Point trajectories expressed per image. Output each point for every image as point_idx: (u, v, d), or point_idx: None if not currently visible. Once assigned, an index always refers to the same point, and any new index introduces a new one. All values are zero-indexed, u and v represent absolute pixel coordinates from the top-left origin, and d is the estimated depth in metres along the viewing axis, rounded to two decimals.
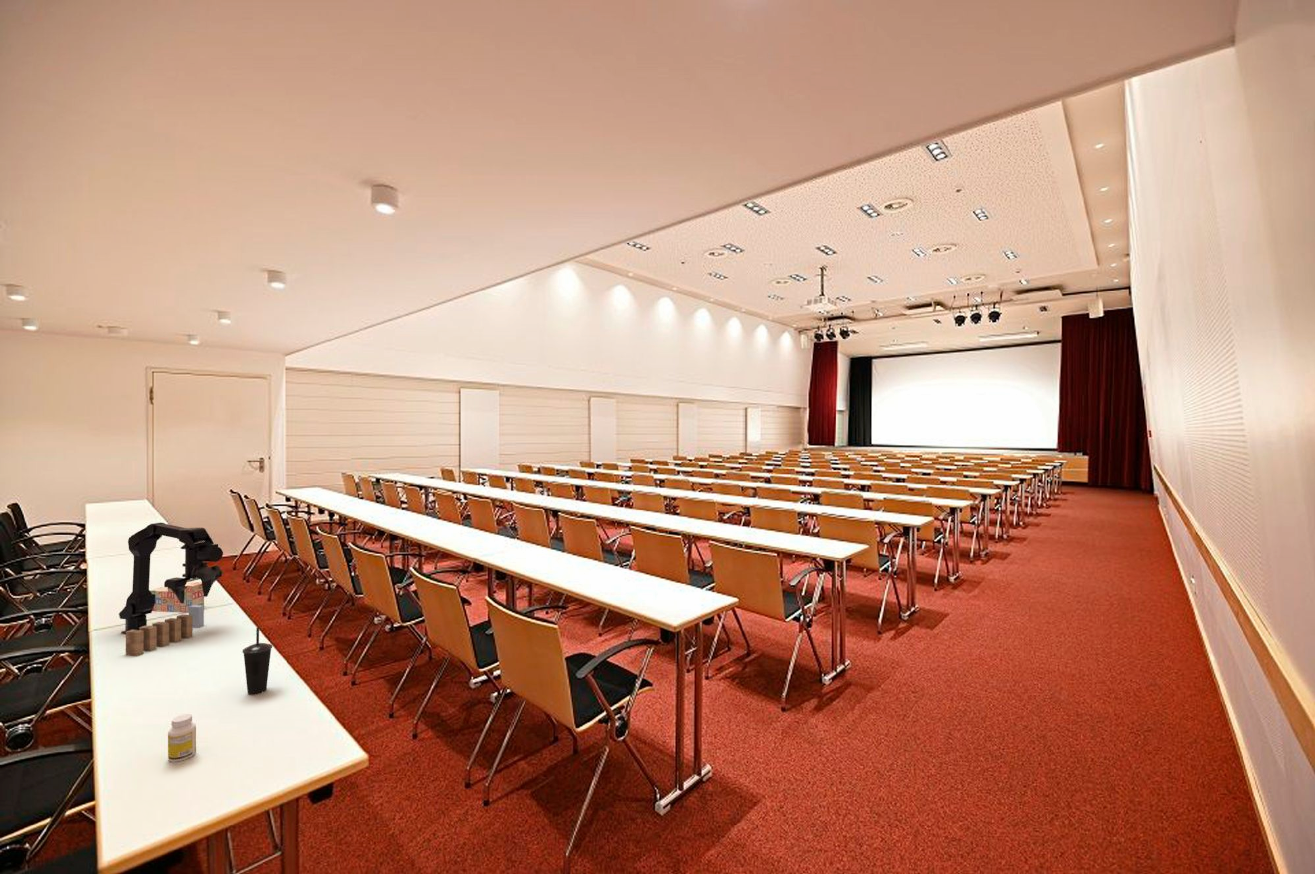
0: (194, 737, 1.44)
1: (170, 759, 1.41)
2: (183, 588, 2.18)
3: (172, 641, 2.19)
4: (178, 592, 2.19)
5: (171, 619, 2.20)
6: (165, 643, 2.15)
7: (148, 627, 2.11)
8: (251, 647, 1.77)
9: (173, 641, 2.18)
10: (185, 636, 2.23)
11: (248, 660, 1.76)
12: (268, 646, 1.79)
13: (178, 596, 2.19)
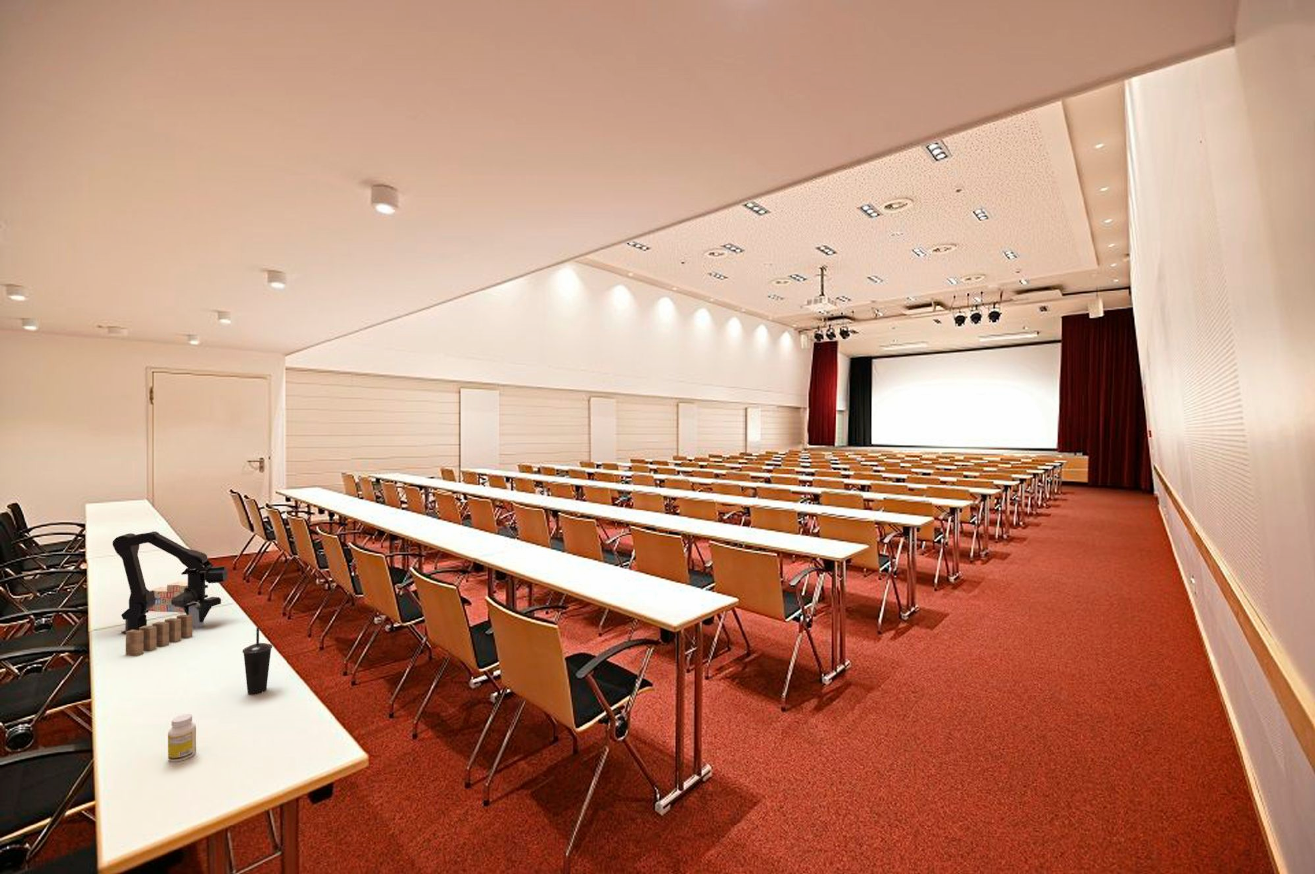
0: (194, 737, 1.44)
1: (170, 759, 1.41)
2: (181, 607, 2.35)
3: (172, 641, 2.19)
4: None
5: (171, 619, 2.20)
6: (165, 643, 2.15)
7: (148, 627, 2.10)
8: (251, 647, 1.77)
9: (173, 641, 2.18)
10: (185, 636, 2.23)
11: (248, 660, 1.76)
12: (268, 646, 1.79)
13: None
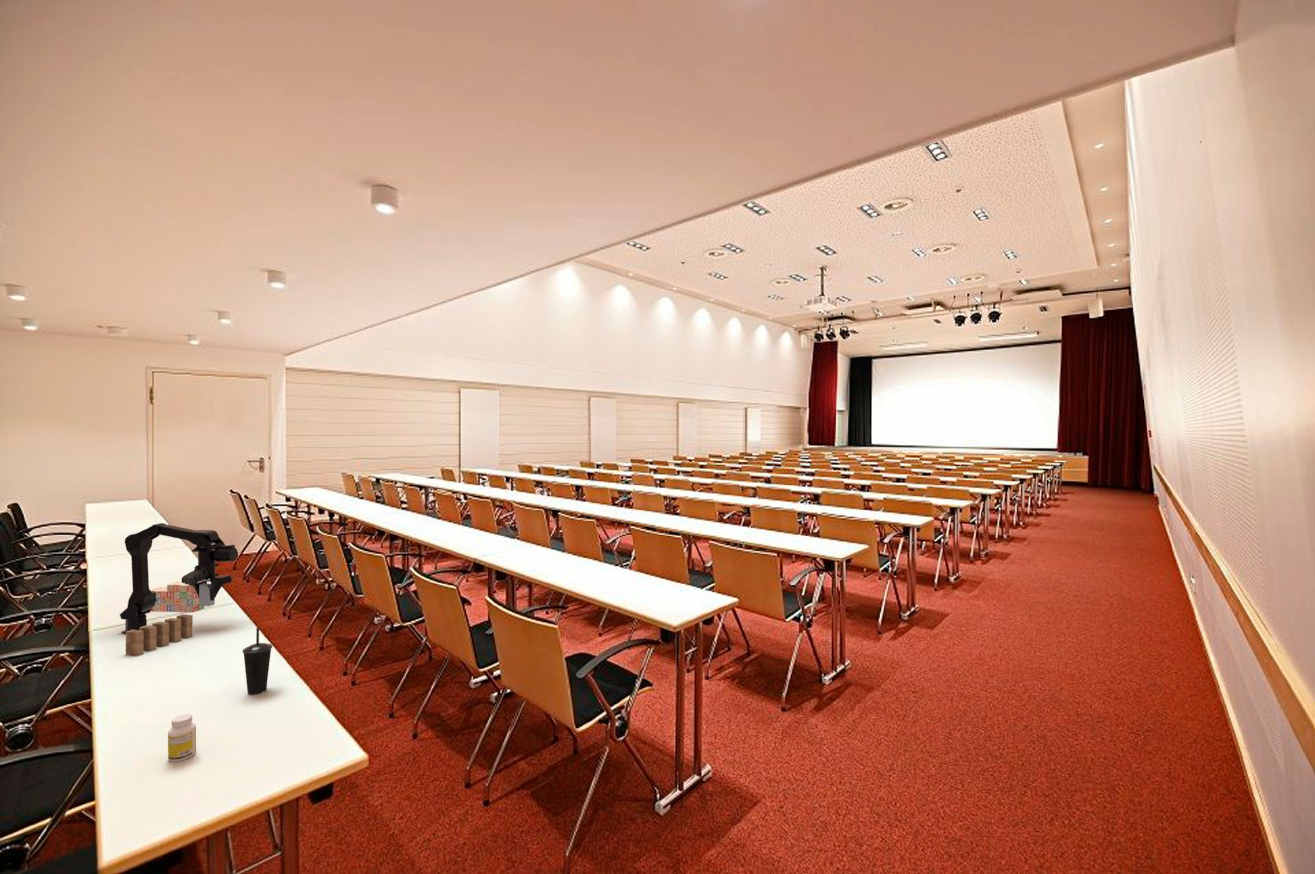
0: (194, 737, 1.44)
1: (170, 759, 1.41)
2: (192, 585, 2.31)
3: (172, 641, 2.19)
4: None
5: (171, 619, 2.20)
6: (165, 643, 2.15)
7: (148, 627, 2.11)
8: (251, 647, 1.77)
9: (173, 641, 2.18)
10: (185, 636, 2.23)
11: (248, 660, 1.76)
12: (268, 646, 1.79)
13: None
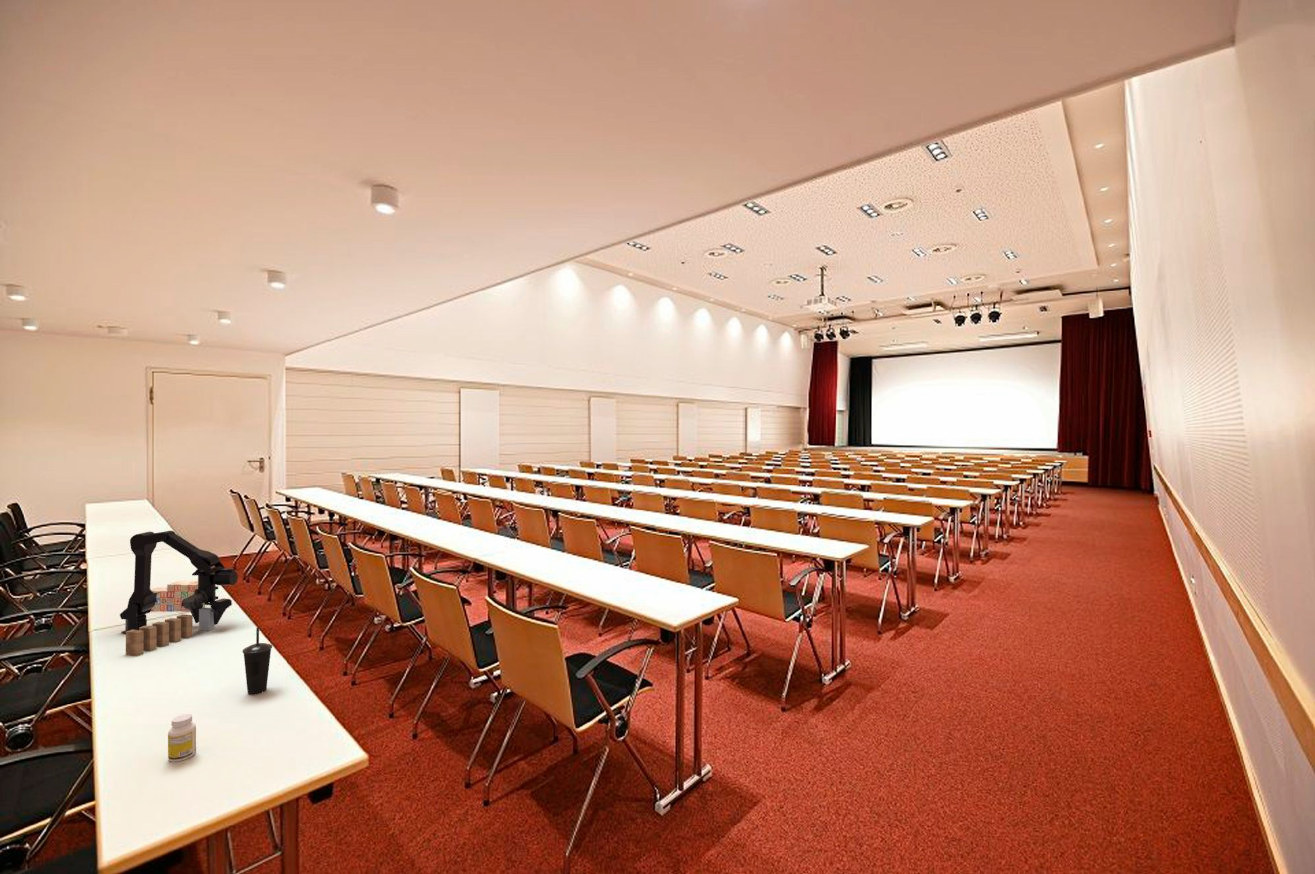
0: (194, 737, 1.44)
1: (170, 759, 1.41)
2: (188, 608, 2.32)
3: (172, 641, 2.19)
4: None
5: (171, 619, 2.20)
6: (165, 643, 2.15)
7: (148, 627, 2.11)
8: (251, 647, 1.77)
9: (173, 641, 2.18)
10: (185, 636, 2.23)
11: (248, 660, 1.76)
12: (268, 646, 1.79)
13: None
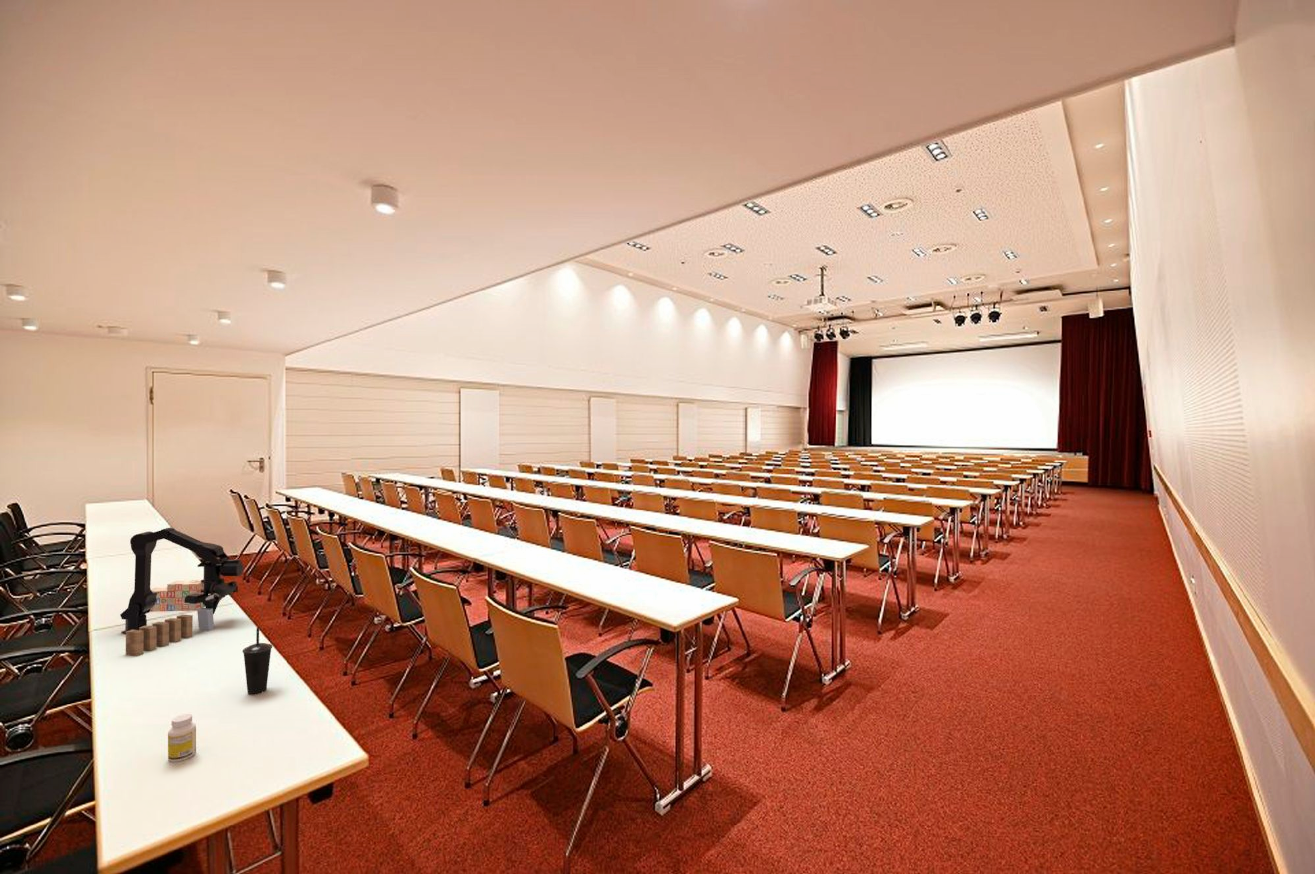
0: (194, 737, 1.44)
1: (170, 759, 1.41)
2: (213, 600, 2.33)
3: (172, 641, 2.19)
4: (208, 604, 2.34)
5: (171, 619, 2.20)
6: (165, 643, 2.15)
7: (148, 627, 2.11)
8: (251, 647, 1.77)
9: (173, 641, 2.18)
10: (185, 636, 2.23)
11: (248, 660, 1.76)
12: (268, 646, 1.79)
13: None
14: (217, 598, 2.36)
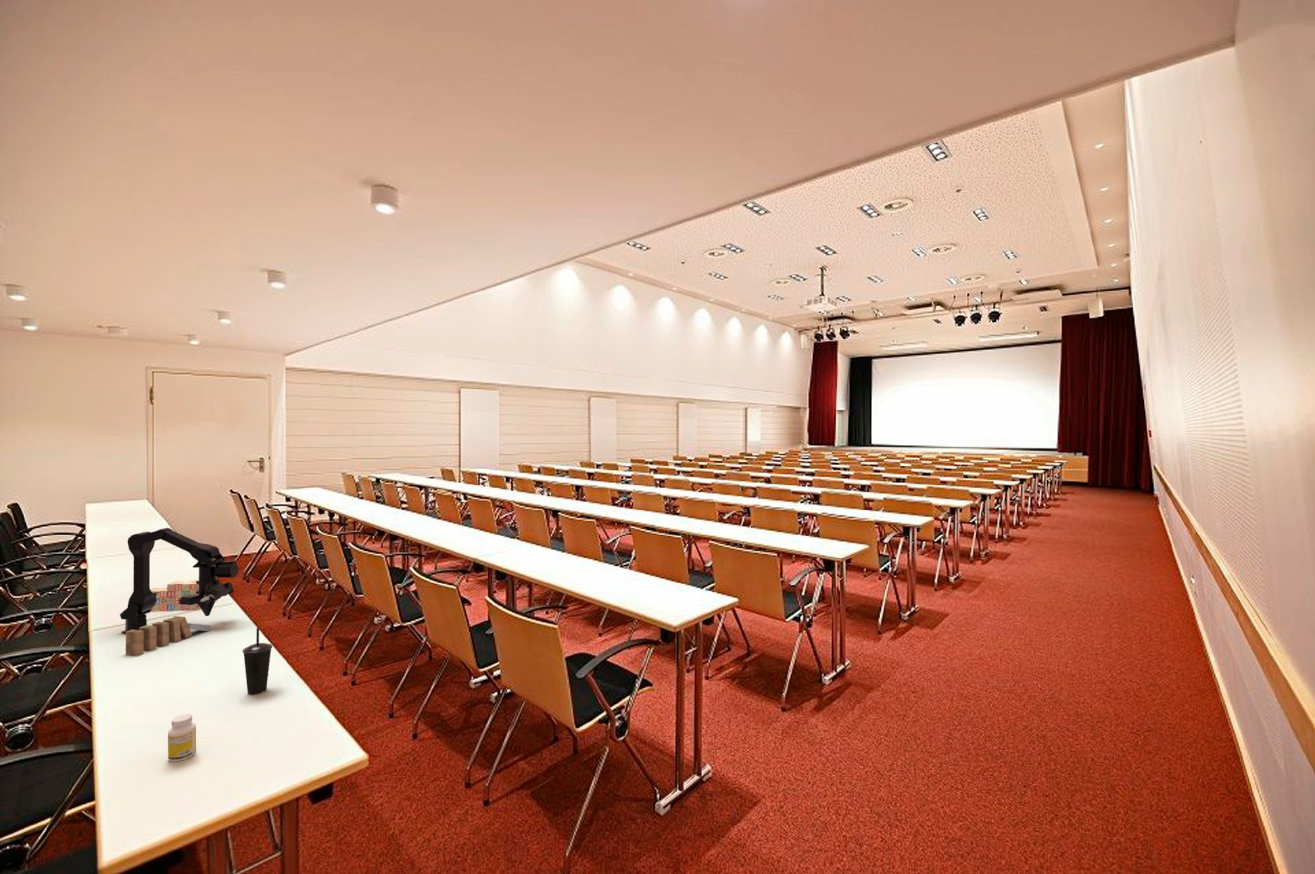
0: (194, 737, 1.44)
1: (170, 759, 1.41)
2: (208, 602, 2.31)
3: (172, 641, 2.18)
4: (203, 606, 2.32)
5: (170, 619, 2.19)
6: (165, 643, 2.15)
7: (148, 627, 2.11)
8: (251, 647, 1.77)
9: (173, 641, 2.18)
10: (184, 636, 2.22)
11: (248, 660, 1.76)
12: (268, 646, 1.79)
13: (203, 609, 2.32)
14: (212, 599, 2.34)
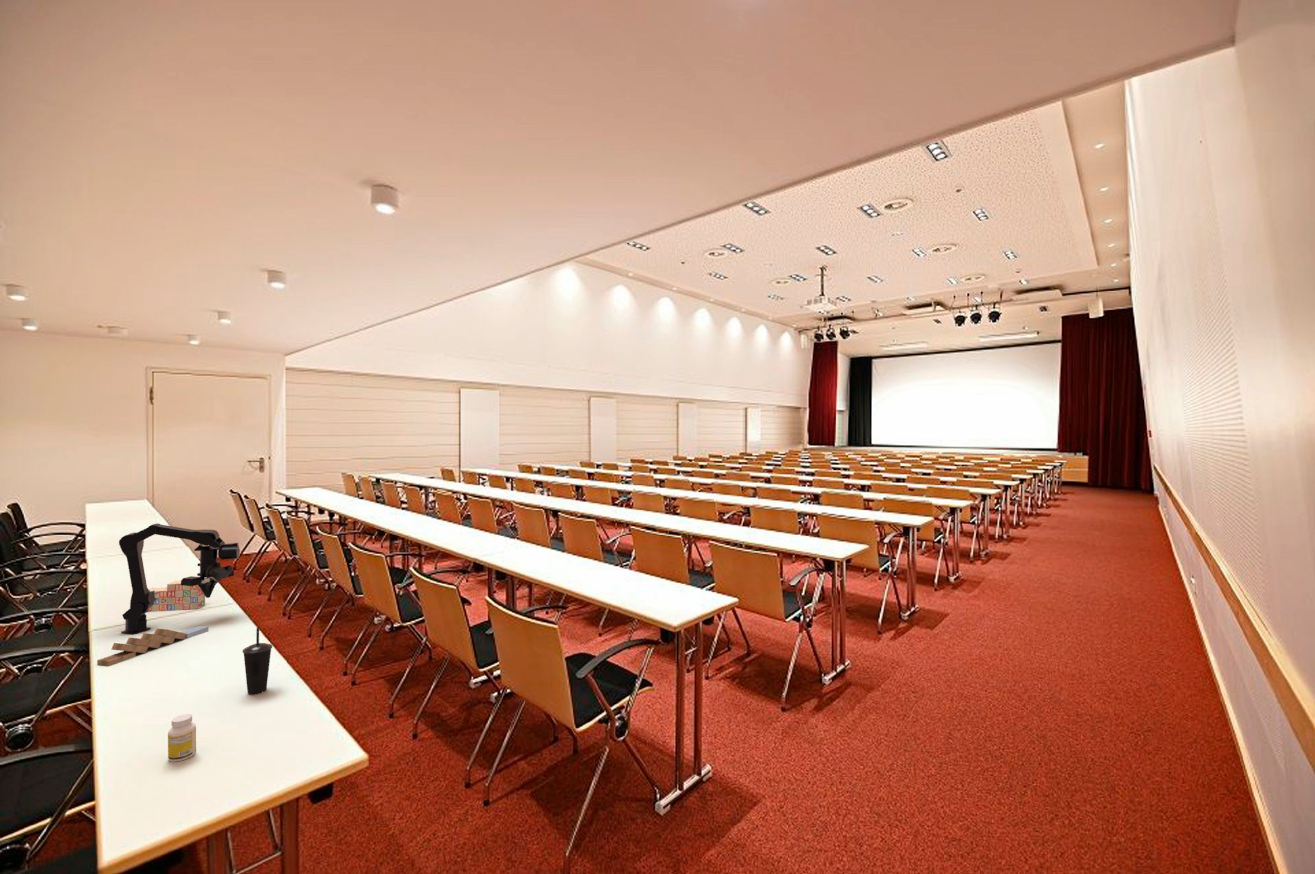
0: (194, 737, 1.44)
1: (170, 759, 1.41)
2: (209, 584, 2.38)
3: None
4: (204, 588, 2.38)
5: (146, 637, 2.11)
6: (157, 645, 2.12)
7: (119, 647, 2.01)
8: (251, 647, 1.77)
9: (169, 643, 2.17)
10: None
11: (248, 660, 1.76)
12: (268, 646, 1.79)
13: (204, 591, 2.39)
14: (213, 582, 2.40)
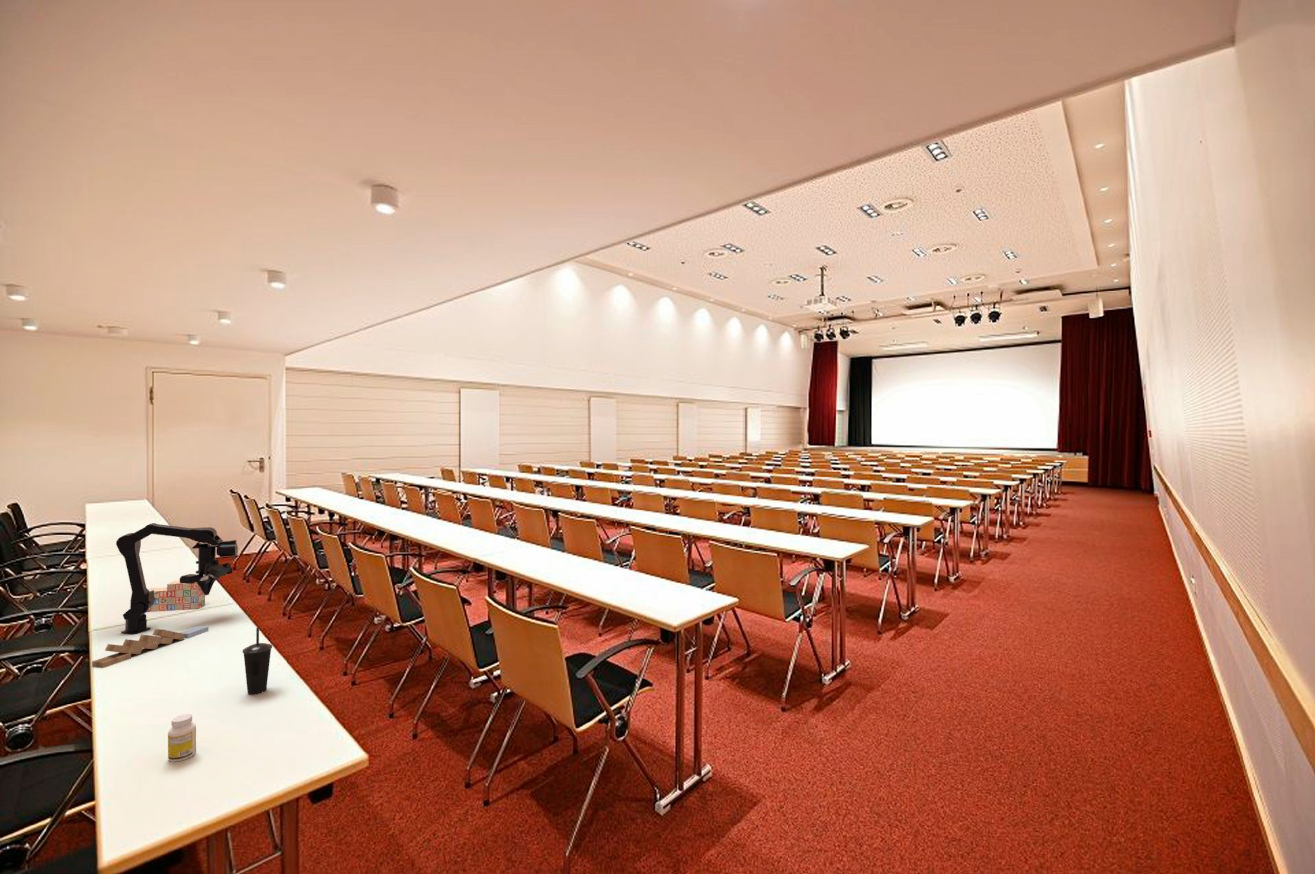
0: (194, 737, 1.44)
1: (170, 759, 1.41)
2: (207, 581, 2.38)
3: (167, 643, 2.17)
4: (203, 585, 2.39)
5: (144, 638, 2.10)
6: (154, 646, 2.11)
7: (112, 649, 2.00)
8: (251, 647, 1.77)
9: None
10: (179, 639, 2.21)
11: (248, 660, 1.76)
12: (268, 646, 1.79)
13: (202, 588, 2.39)
14: (212, 579, 2.40)
